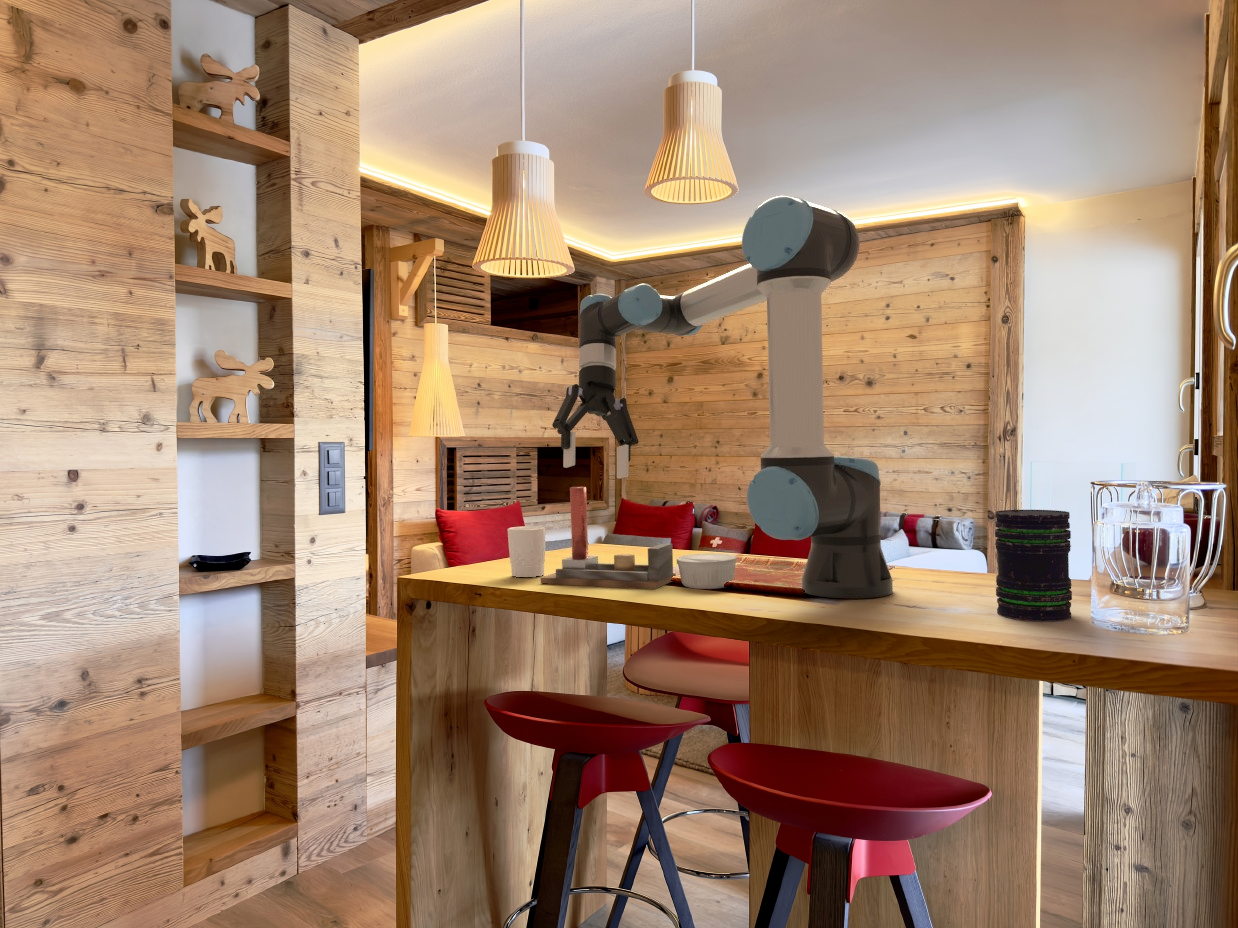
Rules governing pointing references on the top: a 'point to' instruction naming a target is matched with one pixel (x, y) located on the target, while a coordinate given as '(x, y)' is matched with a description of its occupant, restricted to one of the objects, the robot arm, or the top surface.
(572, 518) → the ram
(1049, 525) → the dark brown cylinder
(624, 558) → the nut
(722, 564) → the ramekin
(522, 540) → the white cup
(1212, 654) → the top surface
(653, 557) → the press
